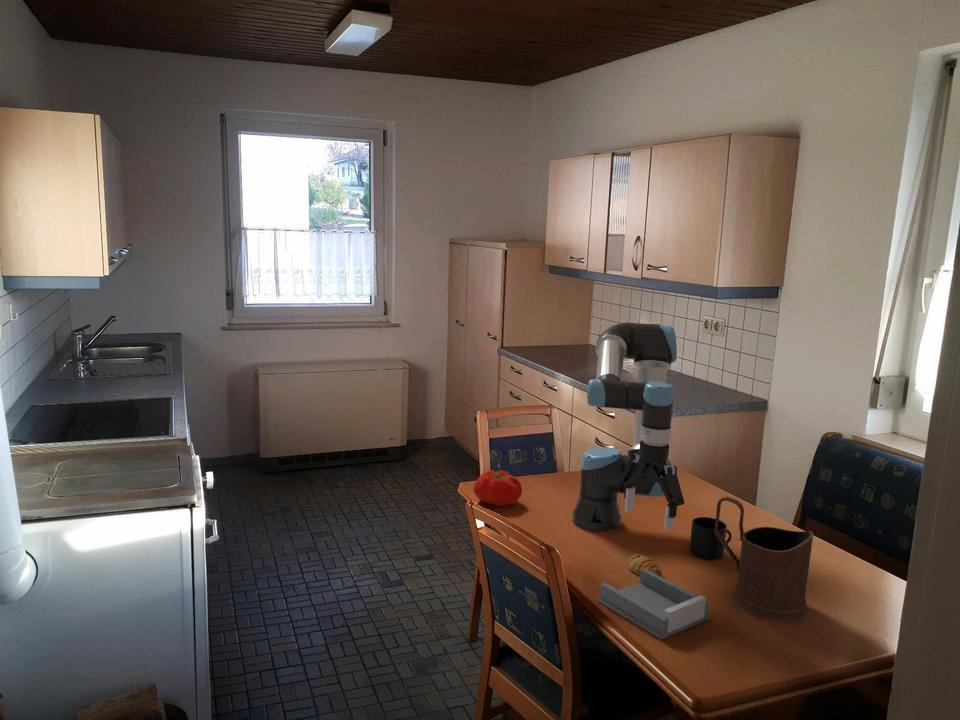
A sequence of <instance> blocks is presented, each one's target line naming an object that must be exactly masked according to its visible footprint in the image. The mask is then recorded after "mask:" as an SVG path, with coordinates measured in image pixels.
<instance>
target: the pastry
mask: <svg viewBox="0 0 960 720" xmlns="http://www.w3.org/2000/svg"><path fill="white" fill-rule="evenodd" d="M627 567H628V568H629V570H630V571H632V572H633V573H634V574H636V575H638V576H641V570H642V569H647V570H649V571H651V572H653V573H655V574H657V575H659V576H660V577H662V574H663V572H662V570H661V568H660V566H658V564H657V563H656V562H655V561H654V559H651V558H650V557H649V556H644V555H643V554H640V553H636V554H633V556H631V557H630V558H629V561H628V562H627Z"/></svg>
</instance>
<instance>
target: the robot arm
mask: <svg viewBox="0 0 960 720" xmlns="http://www.w3.org/2000/svg"><path fill="white" fill-rule="evenodd" d="M676 335H677V334H676V331H675V329H674V327H673V326H671V325H666V324H661V323H640V322H626V321H625V322H620V323H616V324H614V325H612V326H610V327H608V328H606V329H605V330H604V331H603V332H602V333H601V334H600V336H599V337H598V338H597V339H596V343H595V352H596V353H595V354H596V356H597V365H596V366H597V367H596V375H595V379H594V378H592V379H589V380H588V385H587V395H586V397H587V399H586V403H587V404H588V405H589V406H590V407H597V408H600V409H601V408H605V409H606V408H607V409H621V410H622V409H623V410H632V411H635V415H634V416H635V417H634V431H633V444H632V445H631V446H630V447H629V448H628V449H627V455H625V454H624V455H623V454H622V452H621V450H620V449H618V448H614V447H608V446H607V447H596V448H591V449H588V450H587V451H585V452H584V454H583V455H582V460H581V465H580V469H581V472H580V481H579V482H580V483H579V484H580V485H579V497H578V499H577V501H576V505H575V507H574V510H573V511H572V517H571V519H572V522H573V524H574V525H576V526H577V527H579V528H581V529H585V530H587V531H593V532H599V533H600V532H604V533H605V532H612V531H616V530H618V529H620V527H621V526H622V515H621V513H620V507H619V503H618V494H623V499H625V500H624V501H625V502H624V512H625V513H630V512H633V511H634V507H635V506H634V505H635V496H642V497H643V496H644V497H648V498H649V497H655V498H657V497H659V498H660V497H662V496H664V497H665V500H666V502H667V504H665V509H664V520H663V521H664V522H663V530H665V531H667V530H671V529H673V527H674V519H675V518H676V517H677V512H678V510H677V509H678V507H679V506H682V505H685V499H684V496H683V492H682V489H681V484H680V481H679V478H678V468H677V466H676V465H672V460H671V459H669V457H670V455H669V453H670V452H669V451H670V441H671V434H672V433H671V431H672V419H673V418H672V417H673V410H674V409H673V408H674V401H675V387H674V386H673V385H672V384H671V383H667V382H666V374H667V372H668V370H670V369H671V368H672V363H676V361H677V355H678V354H677V353H678V352H677V349H678V348H677V347H678V346H677V337H676ZM624 359H625V360H626V359H627V360H633V367H635V369H637V381H636V382H635V381H623V377H624Z"/></svg>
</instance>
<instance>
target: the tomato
mask: <svg viewBox="0 0 960 720" xmlns="http://www.w3.org/2000/svg"><path fill="white" fill-rule="evenodd" d="M472 489H473V490H472V491H473V493H474V495H475V496H476V497H477V498H478V499H479V500H480V501H482V502H483V503H485V504H487V505H494V506H497V507H502V506H503V507H504V506H507V505H511V504H513V503H515V502H517V501H518V500H519V499H520V498H521V496H522V493H523V488H522V484H521V482H520V481H519V480H518V478H517V477H516V476H515V475H514V476H513V475H511V474H510V473H509V472H507V471H506V470H502V469H500V470H498V471H494V470H487V471H485V472H483V473H482V474H481V475H479V477H478V478H477V480H476V481H475V482H474V484H473V487H472Z"/></svg>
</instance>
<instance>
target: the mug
mask: <svg viewBox="0 0 960 720" xmlns="http://www.w3.org/2000/svg"><path fill="white" fill-rule="evenodd" d="M715 521H716V518H714V517H708V516H701V517H700V516H699V517H695V518H693V519H692V522H691V531H690V540H689V552H690V553H691V554H692V555H693V556H695V557H697V558H700V559H703V560H709V561H710V560H711V561H714V560H716V561H717V560H721V559H722V558H723V557H724V554H725V548H724V546H723V545H722V543H721V542H720V541H719V539H718V538H717V537H716V535H715ZM727 528H728V527H727V524H726V523H725V522H724V521H722V520H721V519H719V525H718V531H719V533H720V535H721V536H722V537H723V539H724V540H725V542H726V543H727V544H729V543H730V542H731V540H732V533H731V531H730V530H729V529H727ZM726 535H728V538H727V537H726ZM726 538H727V540H726Z"/></svg>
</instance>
